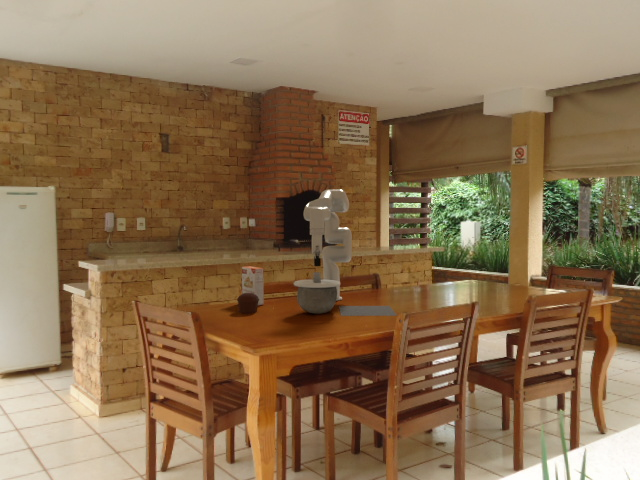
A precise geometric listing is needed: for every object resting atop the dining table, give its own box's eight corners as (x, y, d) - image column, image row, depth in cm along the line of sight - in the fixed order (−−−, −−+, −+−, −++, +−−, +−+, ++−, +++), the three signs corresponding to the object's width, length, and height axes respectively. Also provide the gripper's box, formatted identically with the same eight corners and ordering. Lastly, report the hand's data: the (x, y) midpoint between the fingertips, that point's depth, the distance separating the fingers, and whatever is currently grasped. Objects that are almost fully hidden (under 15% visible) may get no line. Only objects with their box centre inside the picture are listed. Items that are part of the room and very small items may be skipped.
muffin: (256, 309, 317) (256, 291, 317) (262, 313, 307) (261, 294, 306) (234, 311, 313) (234, 292, 312) (239, 314, 303) (239, 295, 302)
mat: (338, 307, 325) (338, 306, 325) (389, 306, 325) (389, 305, 325) (341, 316, 297) (341, 315, 297) (397, 316, 297) (397, 315, 297)
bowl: (291, 315, 300) (291, 286, 299) (304, 308, 319) (304, 281, 318) (330, 318, 294) (330, 288, 293) (341, 310, 313) (341, 282, 312)
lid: (294, 281, 317) (294, 270, 317) (339, 281, 318) (339, 269, 318) (293, 287, 294) (293, 275, 293) (341, 287, 294) (341, 275, 294)
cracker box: (241, 302, 338) (241, 266, 337) (250, 301, 342) (250, 265, 341) (255, 306, 328) (254, 268, 326) (264, 305, 331) (264, 267, 330)
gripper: (309, 230, 313) (310, 262, 314) (309, 233, 295) (310, 267, 297) (324, 230, 313) (324, 262, 314) (324, 233, 295) (325, 267, 297)
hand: (317, 264), depth 306 cm, fingers open, 9 cm apart
